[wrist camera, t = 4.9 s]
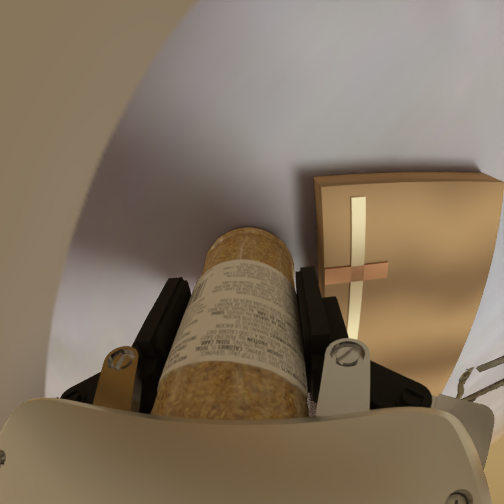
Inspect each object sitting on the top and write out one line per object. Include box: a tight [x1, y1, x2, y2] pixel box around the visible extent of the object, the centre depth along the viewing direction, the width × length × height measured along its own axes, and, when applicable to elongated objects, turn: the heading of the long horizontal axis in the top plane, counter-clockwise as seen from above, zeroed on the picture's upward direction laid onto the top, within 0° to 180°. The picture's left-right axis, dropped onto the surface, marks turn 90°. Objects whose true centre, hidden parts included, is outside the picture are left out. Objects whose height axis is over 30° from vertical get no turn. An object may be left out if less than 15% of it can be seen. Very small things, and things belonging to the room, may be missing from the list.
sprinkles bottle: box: [151, 227, 309, 420], centre depth 9 cm, size 5×5×13 cm
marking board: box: [314, 172, 504, 409], centre depth 16 cm, size 22×10×2 cm, turn 8°
